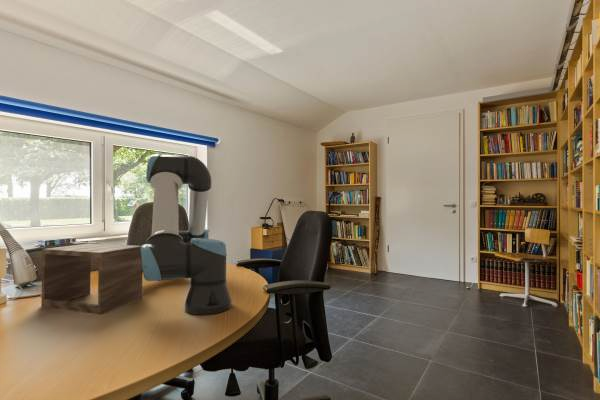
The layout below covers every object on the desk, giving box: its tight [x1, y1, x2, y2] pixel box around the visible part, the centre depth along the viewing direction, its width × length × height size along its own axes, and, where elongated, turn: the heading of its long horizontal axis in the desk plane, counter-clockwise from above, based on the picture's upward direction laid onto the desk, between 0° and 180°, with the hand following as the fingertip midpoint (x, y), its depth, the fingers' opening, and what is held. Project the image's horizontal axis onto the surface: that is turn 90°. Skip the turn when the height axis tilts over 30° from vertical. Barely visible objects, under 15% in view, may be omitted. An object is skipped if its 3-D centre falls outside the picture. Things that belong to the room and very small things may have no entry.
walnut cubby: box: [40, 242, 143, 315], centre depth 112 cm, size 26×17×20 cm, turn 73°
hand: (107, 275), depth 118 cm, fingers closed on coffee mug, 3 cm apart
